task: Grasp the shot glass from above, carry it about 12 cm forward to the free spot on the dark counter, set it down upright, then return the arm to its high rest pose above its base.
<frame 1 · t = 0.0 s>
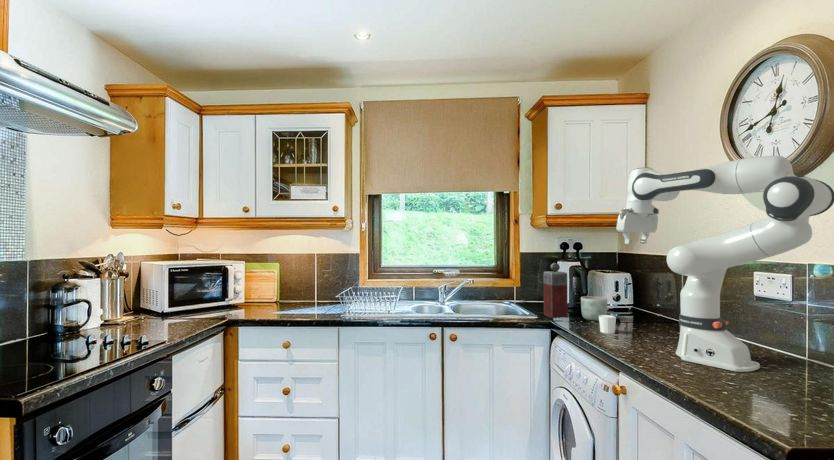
hand: (635, 243, 156), 39 cm above the counter, tool pointing down, fingers open, 8 cm apart
shot glass: (607, 332, 170), on the counter
planter: (594, 319, 198), on the counter
red decanter: (554, 316, 208), on the counter
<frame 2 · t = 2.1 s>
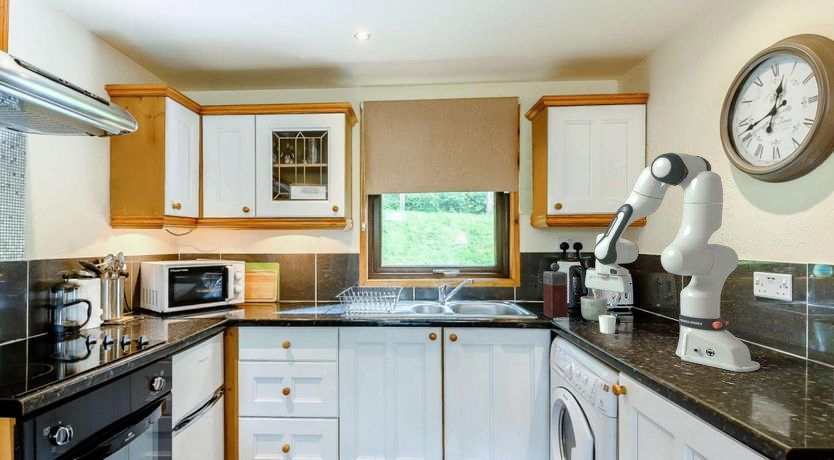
hand: (606, 300, 171), 14 cm above the counter, tool pointing down, fingers open, 8 cm apart
nothing on the counter moved.
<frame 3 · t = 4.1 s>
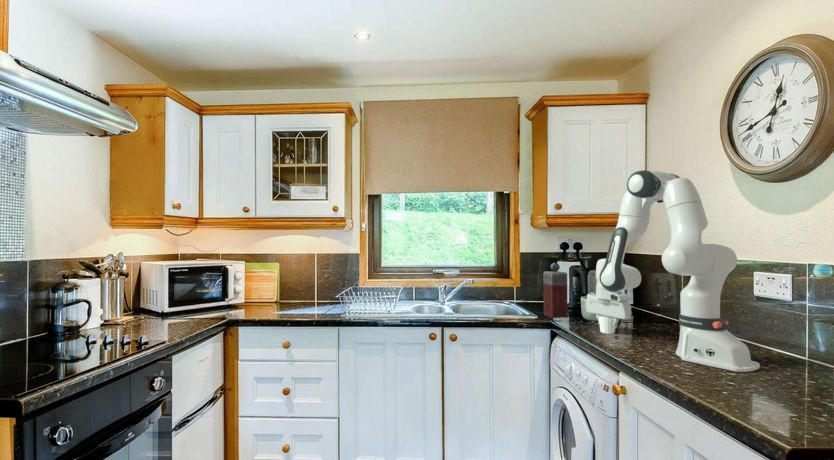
hand: (607, 326, 170), 3 cm above the counter, tool pointing down, fingers closed on shot glass, 5 cm apart
shot glass: (607, 332, 170), on the counter, touching gripper
everything else where it was.
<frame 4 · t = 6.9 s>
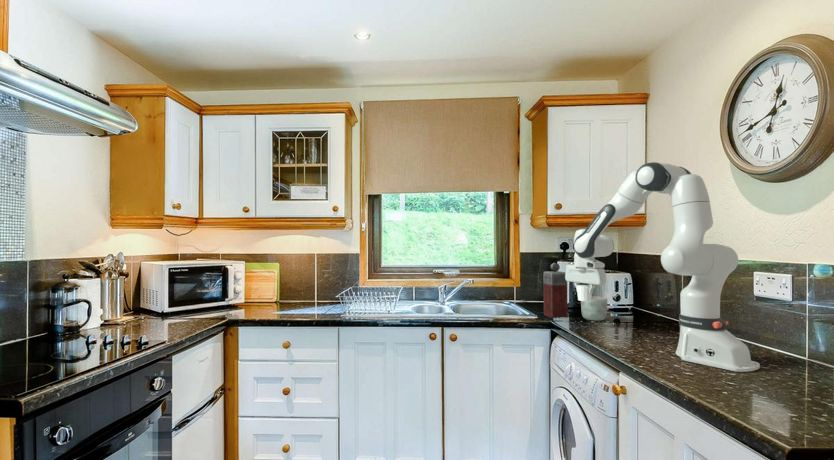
hand: (584, 292, 181), 16 cm above the counter, tool pointing down, fingers closed on shot glass, 5 cm apart
shot glass: (584, 300, 181), point 12 cm above the counter, touching gripper
everything else where it was.
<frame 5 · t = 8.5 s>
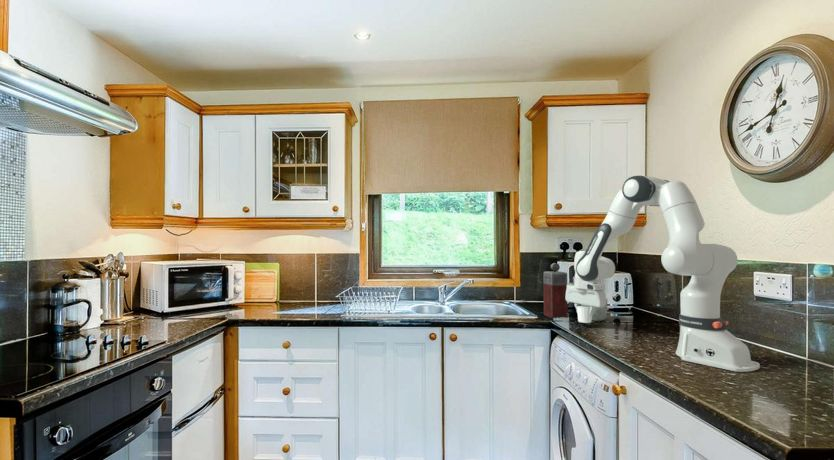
hand: (584, 314, 181), 6 cm above the counter, tool pointing down, fingers closed on shot glass, 5 cm apart
shot glass: (584, 322, 181), point 2 cm above the counter, touching gripper
everything else where it was.
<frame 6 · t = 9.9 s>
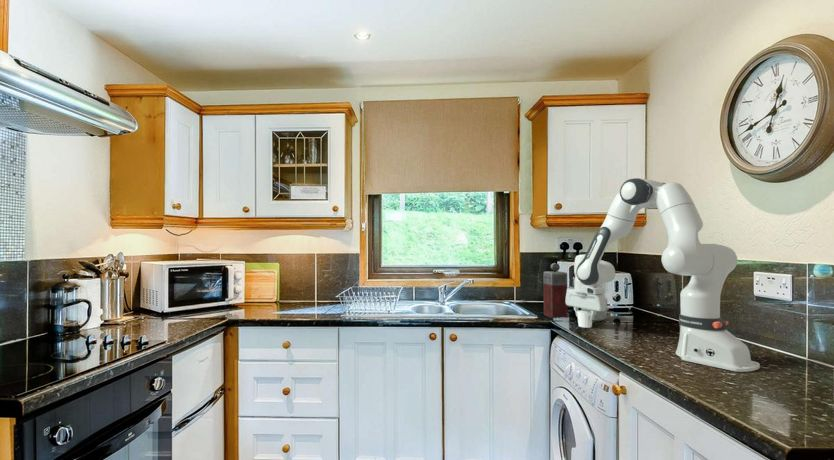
hand: (584, 318, 181), 4 cm above the counter, tool pointing down, fingers closed on shot glass, 6 cm apart
shot glass: (585, 326, 181), on the counter, touching gripper
everything else where it was.
when the fingers open (4 cm above the counter, at t = 9.9 s): shot glass stays where it is, on the counter.
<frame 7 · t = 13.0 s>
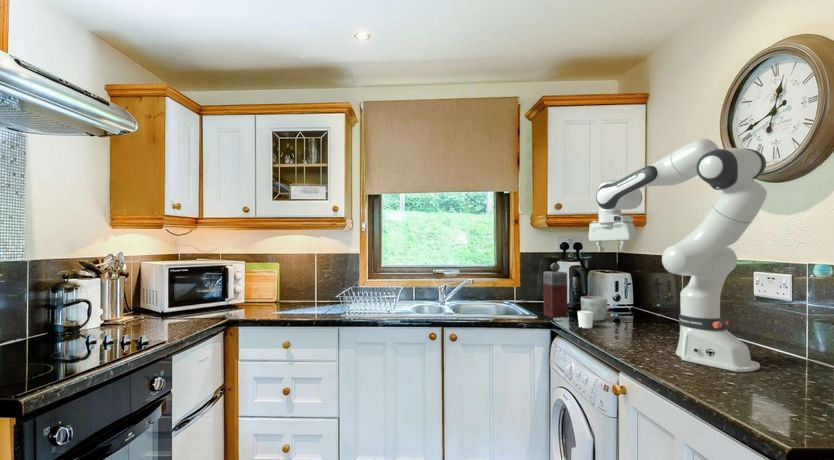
hand: (611, 251, 166), 35 cm above the counter, tool pointing down, fingers open, 8 cm apart
shot glass: (585, 327, 181), on the counter
everything else where it was.
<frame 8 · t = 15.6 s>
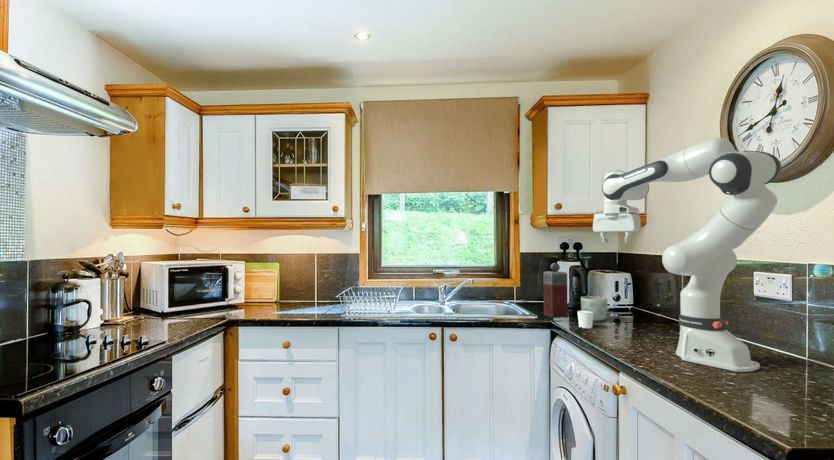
hand: (615, 242, 164), 39 cm above the counter, tool pointing down, fingers open, 8 cm apart
nothing on the counter moved.
at the end: shot glass inside the target area (0.4 cm from its centre), on the counter; shot glass tilted 0°; the gripper is holding nothing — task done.
